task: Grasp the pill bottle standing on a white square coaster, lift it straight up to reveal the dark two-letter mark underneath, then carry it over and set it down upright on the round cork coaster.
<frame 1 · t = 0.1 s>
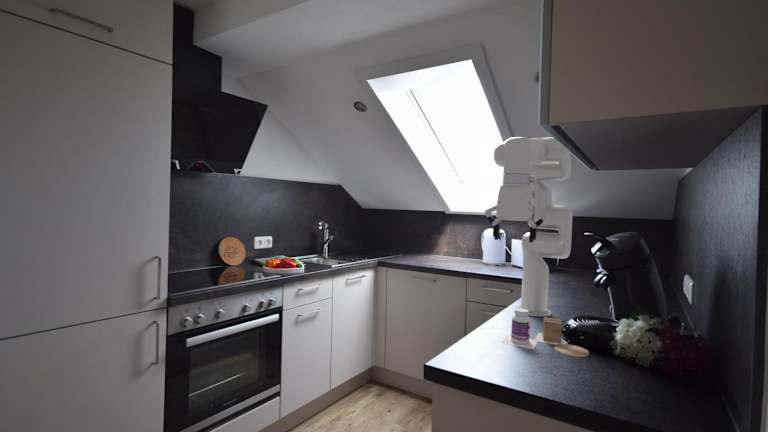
hand: (513, 240, 112), 31 cm above the counter, fingers open, 9 cm apart
cork coaster: (571, 351, 112), on the counter
code tile block: (551, 339, 121), on the counter
pill bottle: (520, 342, 118), resting on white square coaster
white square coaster: (520, 341, 118), on the counter
walnut block: (551, 339, 121), resting on code tile block
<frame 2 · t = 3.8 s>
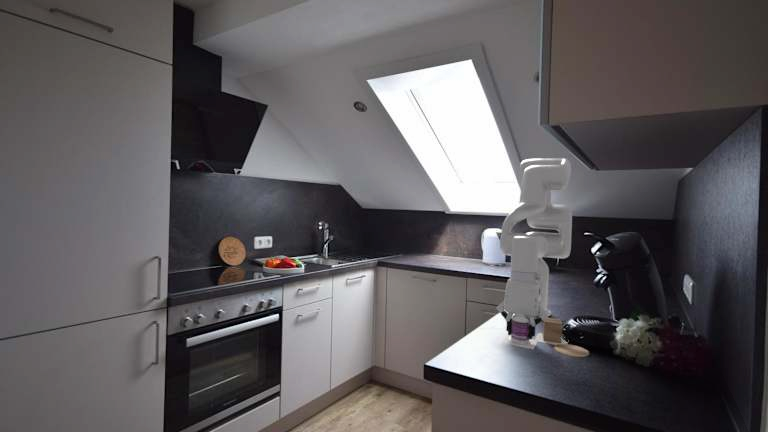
hand: (520, 335, 118), 2 cm above the counter, fingers closed on pill bottle, 5 cm apart
pill bottle: (520, 342, 118), resting on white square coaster, touching gripper
everything else where it was.
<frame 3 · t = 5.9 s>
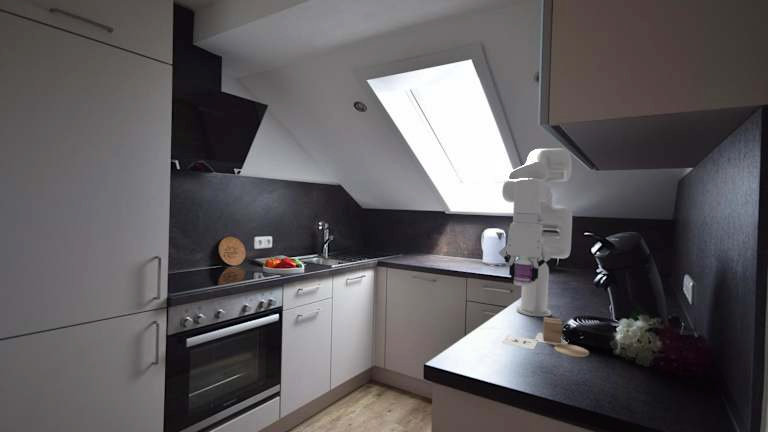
hand: (523, 278, 117), 19 cm above the counter, fingers closed on pill bottle, 5 cm apart
pill bottle: (523, 285, 117), point 17 cm above the counter, touching gripper
everything else where it was.
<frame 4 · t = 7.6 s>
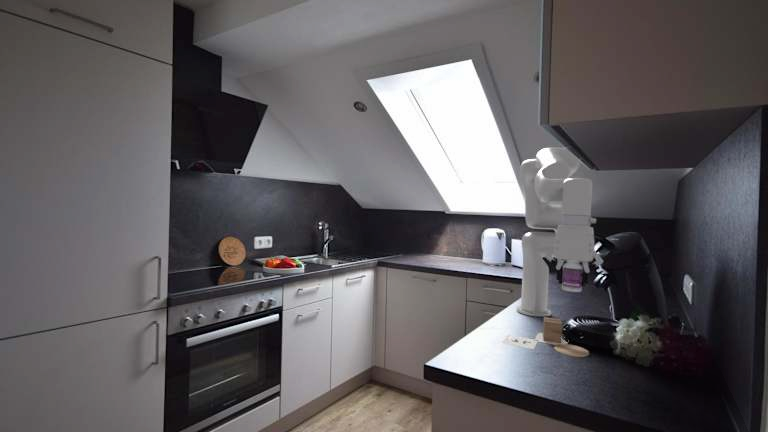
hand: (572, 283, 111), 19 cm above the counter, fingers closed on pill bottle, 5 cm apart
pill bottle: (571, 291, 111), point 17 cm above the counter, touching gripper
everything else where it was.
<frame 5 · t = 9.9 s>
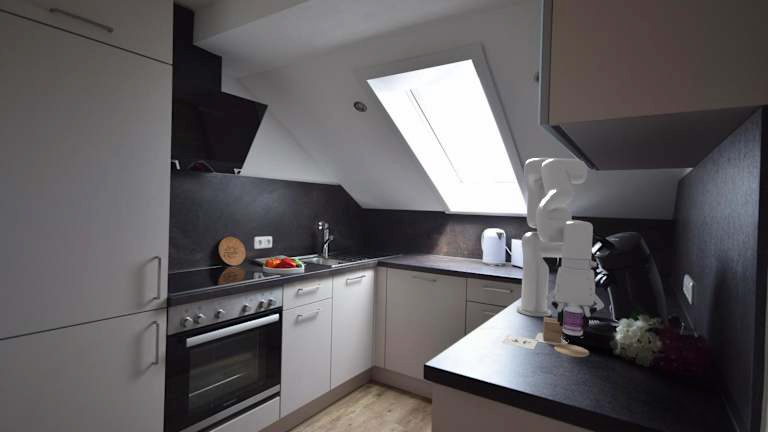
hand: (572, 326, 111), 7 cm above the counter, fingers closed on pill bottle, 5 cm apart
pill bottle: (572, 333, 111), point 5 cm above the counter, touching gripper
everything else where it was.
when the fingers open (3 cm above the counter, at t = 11.6 s): pill bottle drops 1 cm, resting on cork coaster.
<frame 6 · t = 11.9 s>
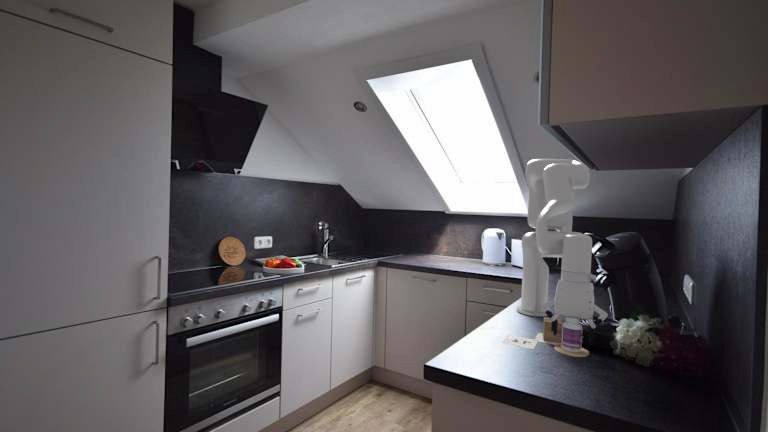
hand: (572, 337, 111), 4 cm above the counter, fingers open, 8 cm apart
pill bottle: (571, 350, 112), resting on cork coaster
everything else where it was.
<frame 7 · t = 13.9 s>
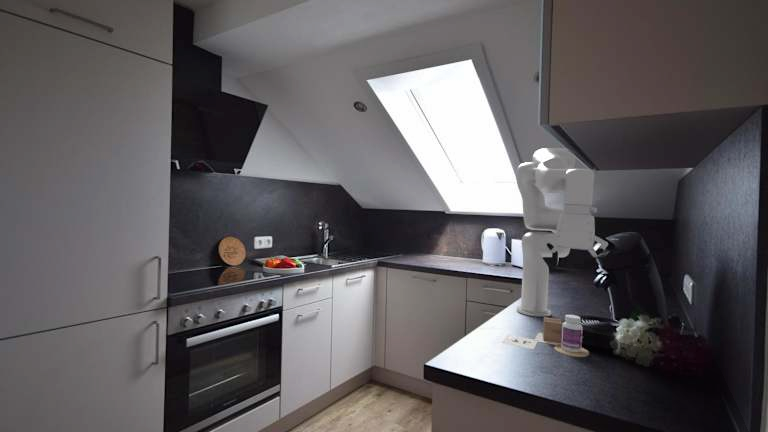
hand: (572, 267, 116), 23 cm above the counter, fingers open, 9 cm apart
nothing on the counter moved.
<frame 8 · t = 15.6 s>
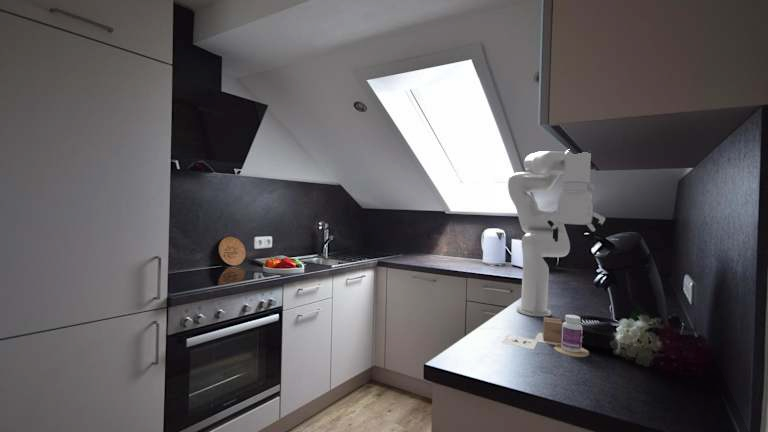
hand: (572, 242, 123), 30 cm above the counter, fingers open, 9 cm apart
nothing on the counter moved.
at the end: pill bottle 0.1 cm from the cork coaster (horizontally); pill bottle tilted 0°; the gripper is holding nothing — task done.
